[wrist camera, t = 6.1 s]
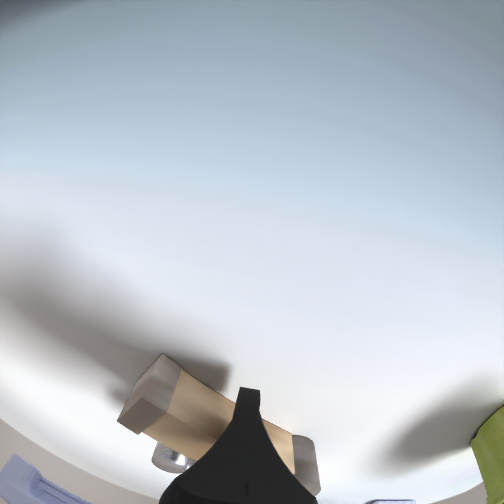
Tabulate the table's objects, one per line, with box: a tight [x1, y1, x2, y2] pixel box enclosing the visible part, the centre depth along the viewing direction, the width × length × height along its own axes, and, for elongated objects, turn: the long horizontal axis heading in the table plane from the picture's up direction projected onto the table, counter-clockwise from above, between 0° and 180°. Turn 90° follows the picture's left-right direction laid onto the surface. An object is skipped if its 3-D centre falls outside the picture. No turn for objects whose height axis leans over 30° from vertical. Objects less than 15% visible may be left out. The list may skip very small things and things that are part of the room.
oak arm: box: [117, 353, 321, 496], centre depth 13 cm, size 12×3×4 cm, turn 49°
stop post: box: [152, 442, 189, 473], centre depth 13 cm, size 2×2×4 cm
